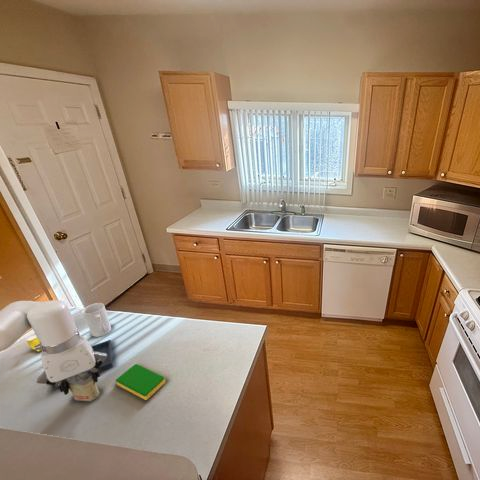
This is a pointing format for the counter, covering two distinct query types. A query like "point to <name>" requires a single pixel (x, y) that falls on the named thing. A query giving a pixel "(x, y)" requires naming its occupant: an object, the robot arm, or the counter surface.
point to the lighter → (83, 387)
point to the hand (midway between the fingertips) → (82, 384)
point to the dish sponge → (140, 381)
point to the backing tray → (107, 363)
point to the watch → (33, 342)
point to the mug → (97, 319)
